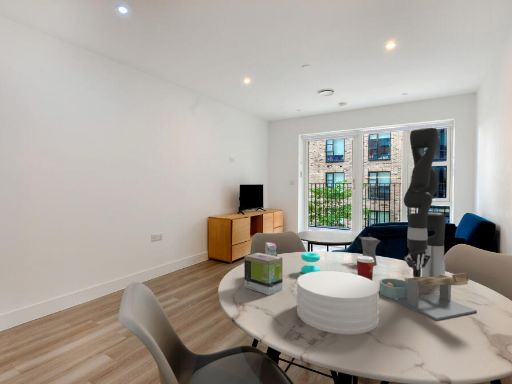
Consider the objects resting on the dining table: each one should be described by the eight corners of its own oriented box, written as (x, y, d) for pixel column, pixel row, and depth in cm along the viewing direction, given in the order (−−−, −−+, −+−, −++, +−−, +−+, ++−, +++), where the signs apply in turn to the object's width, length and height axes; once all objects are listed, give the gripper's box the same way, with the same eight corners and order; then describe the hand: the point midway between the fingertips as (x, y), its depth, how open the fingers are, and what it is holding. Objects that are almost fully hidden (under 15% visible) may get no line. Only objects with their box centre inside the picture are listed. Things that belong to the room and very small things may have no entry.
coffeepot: (383, 264, 165) (383, 234, 165) (376, 267, 158) (376, 236, 158) (358, 259, 176) (358, 231, 176) (351, 262, 169) (351, 233, 169)
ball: (396, 288, 120) (391, 290, 123) (392, 281, 122) (388, 283, 124) (390, 288, 119) (386, 291, 122) (387, 282, 121) (383, 284, 123)
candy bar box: (277, 279, 138) (277, 246, 138) (267, 279, 137) (267, 246, 137) (274, 272, 149) (274, 242, 149) (264, 272, 148) (264, 242, 148)
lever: (389, 284, 118) (387, 275, 119) (417, 280, 123) (415, 271, 124) (457, 286, 91) (454, 274, 92) (490, 281, 96) (486, 270, 97)
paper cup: (375, 292, 121) (376, 260, 121) (357, 290, 122) (357, 259, 122) (372, 285, 128) (372, 255, 128) (354, 284, 130) (354, 255, 130)
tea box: (283, 289, 123) (283, 256, 123) (268, 296, 116) (268, 261, 116) (258, 282, 134) (258, 251, 133) (243, 287, 126) (243, 255, 126)
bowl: (395, 287, 127) (395, 277, 127) (418, 297, 115) (418, 286, 115) (373, 290, 123) (373, 280, 123) (395, 301, 111) (395, 289, 111)
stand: (396, 301, 111) (396, 275, 111) (433, 295, 117) (434, 270, 117) (436, 320, 95) (436, 290, 95) (476, 312, 101) (477, 284, 101)
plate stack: (293, 298, 114) (293, 270, 114) (361, 299, 113) (361, 271, 113) (302, 333, 86) (302, 297, 86) (393, 335, 85) (393, 298, 85)
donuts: (297, 253, 149) (310, 251, 155) (297, 272, 149) (310, 269, 155) (310, 257, 141) (324, 254, 147) (310, 277, 141) (324, 273, 147)
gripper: (421, 235, 126) (420, 273, 126) (398, 237, 122) (397, 276, 122) (436, 238, 119) (436, 278, 119) (412, 240, 114) (412, 281, 115)
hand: (416, 277), depth 120 cm, fingers closed
